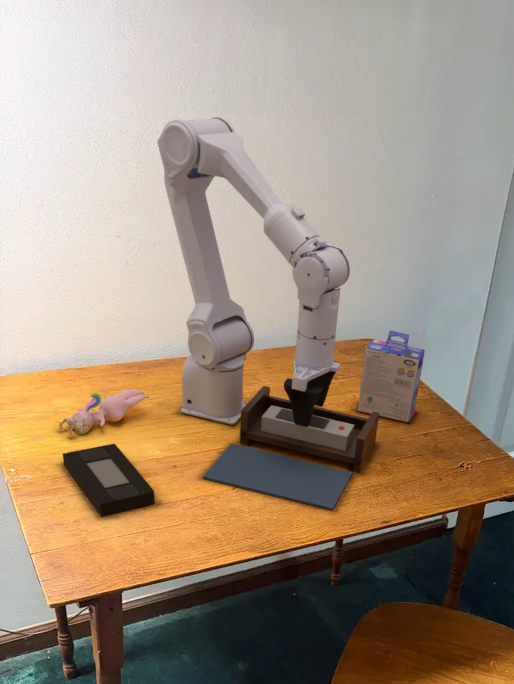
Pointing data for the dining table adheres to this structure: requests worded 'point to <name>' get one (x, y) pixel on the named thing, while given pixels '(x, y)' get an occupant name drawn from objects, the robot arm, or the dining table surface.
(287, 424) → the remote
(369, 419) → the dark wooden tray
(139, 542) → the dining table surface
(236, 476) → the desk mat
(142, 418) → the dining table surface
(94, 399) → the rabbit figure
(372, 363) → the ink cartridge box
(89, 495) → the vhs tape
